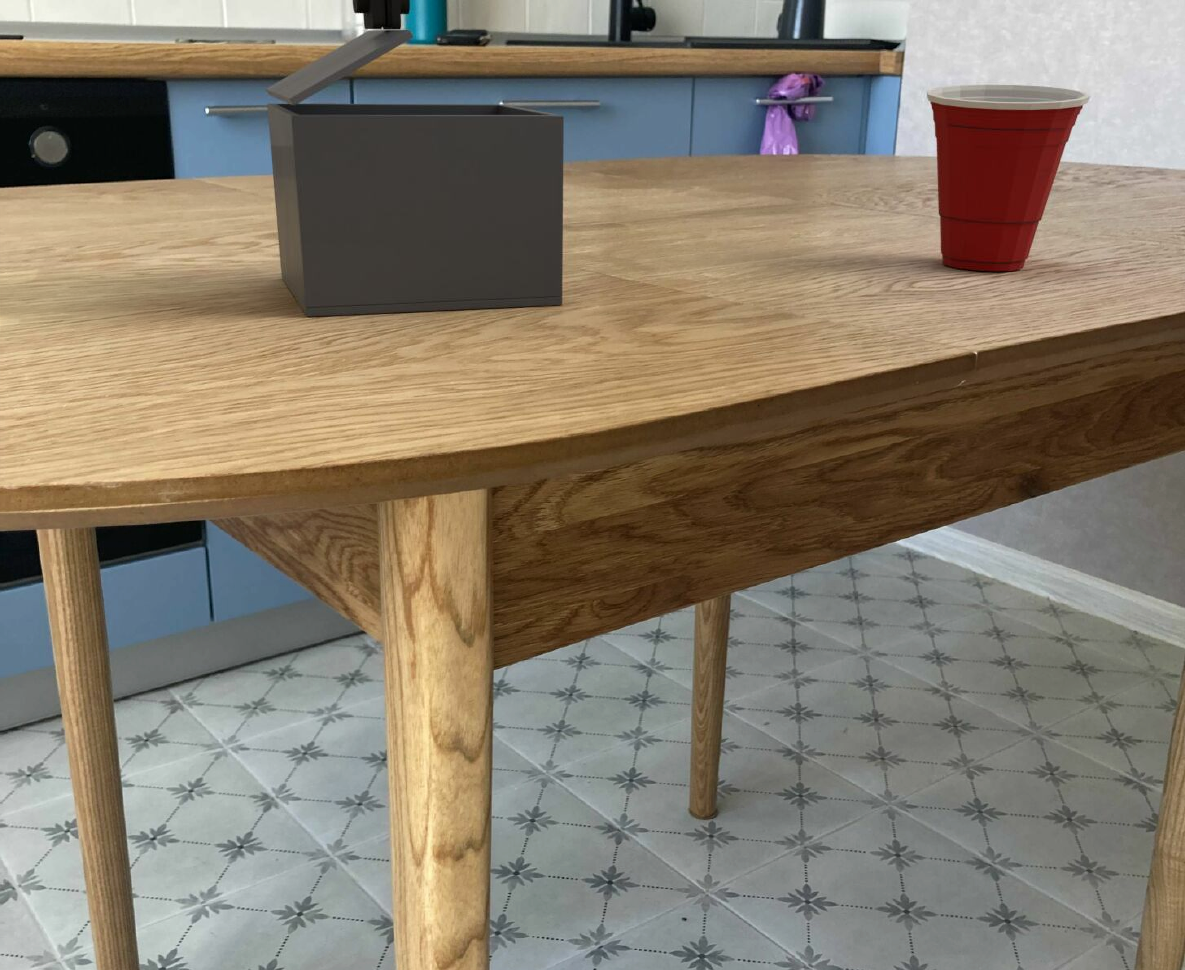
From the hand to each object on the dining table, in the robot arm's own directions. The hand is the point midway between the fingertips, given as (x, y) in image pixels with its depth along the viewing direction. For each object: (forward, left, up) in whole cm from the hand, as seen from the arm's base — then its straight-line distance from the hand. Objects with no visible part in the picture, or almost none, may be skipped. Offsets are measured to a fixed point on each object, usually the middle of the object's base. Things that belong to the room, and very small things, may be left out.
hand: (382, 28), depth 71 cm
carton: (+1, +1, -15) cm, 15 cm away
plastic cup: (+20, +38, -15) cm, 46 cm away
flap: (-1, -2, -2) cm, 3 cm away
